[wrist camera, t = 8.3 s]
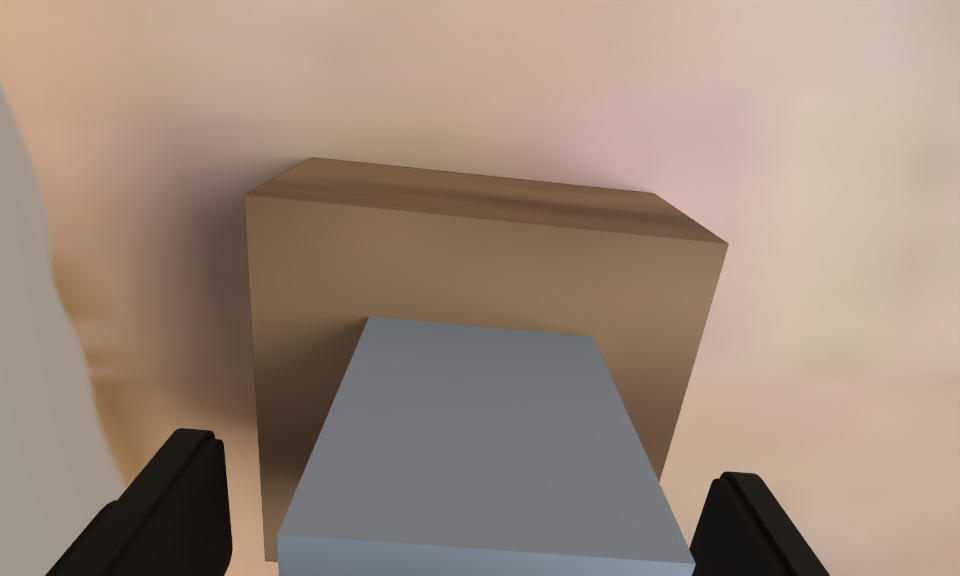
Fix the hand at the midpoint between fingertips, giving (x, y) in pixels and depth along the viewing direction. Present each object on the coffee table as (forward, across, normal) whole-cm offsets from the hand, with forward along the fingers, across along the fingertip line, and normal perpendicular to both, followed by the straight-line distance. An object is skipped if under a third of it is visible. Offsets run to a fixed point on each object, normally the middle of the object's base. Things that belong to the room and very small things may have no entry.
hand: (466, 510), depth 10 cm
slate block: (+3, 0, 0) cm, 3 cm away
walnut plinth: (+8, 0, 0) cm, 8 cm away
